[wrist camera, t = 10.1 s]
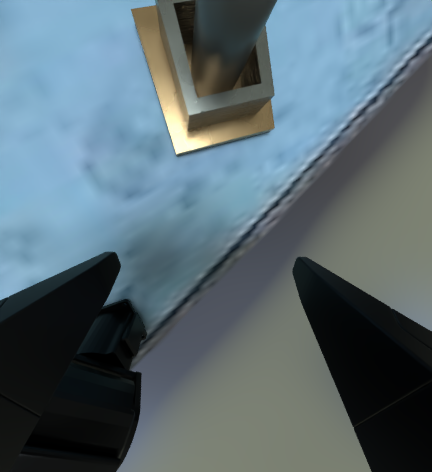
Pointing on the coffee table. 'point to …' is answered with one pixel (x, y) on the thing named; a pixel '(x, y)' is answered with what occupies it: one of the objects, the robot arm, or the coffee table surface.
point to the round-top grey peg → (224, 41)
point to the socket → (182, 87)
